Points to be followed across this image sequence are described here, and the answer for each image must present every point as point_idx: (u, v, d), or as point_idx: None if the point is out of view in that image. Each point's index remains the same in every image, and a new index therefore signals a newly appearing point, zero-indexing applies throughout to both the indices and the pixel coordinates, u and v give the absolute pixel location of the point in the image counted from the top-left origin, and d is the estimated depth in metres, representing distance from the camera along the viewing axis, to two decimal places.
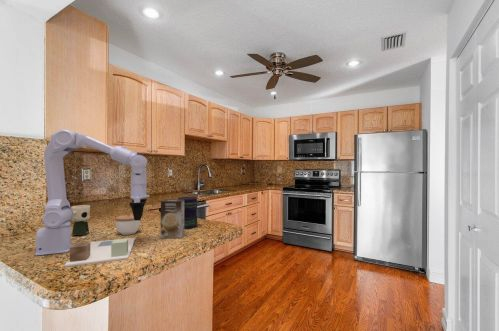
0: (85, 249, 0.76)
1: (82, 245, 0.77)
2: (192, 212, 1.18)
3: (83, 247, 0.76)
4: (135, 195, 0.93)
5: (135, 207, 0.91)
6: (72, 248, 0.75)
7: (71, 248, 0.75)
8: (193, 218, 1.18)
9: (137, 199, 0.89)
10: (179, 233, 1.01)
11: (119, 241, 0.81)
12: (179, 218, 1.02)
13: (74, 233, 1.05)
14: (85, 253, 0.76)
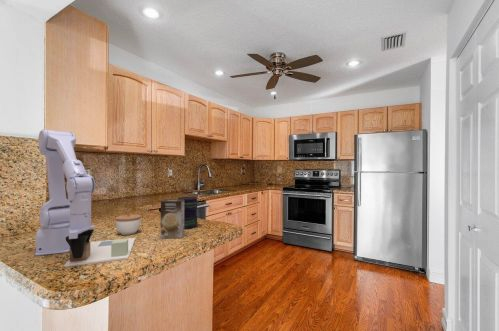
0: (85, 249, 0.76)
1: None
2: (192, 213, 1.18)
3: None
4: (74, 228, 0.75)
5: (74, 242, 0.74)
6: None
7: None
8: (193, 218, 1.18)
9: (73, 234, 0.71)
10: (179, 233, 1.01)
11: (119, 241, 0.81)
12: (179, 218, 1.02)
13: None
14: (85, 253, 0.76)
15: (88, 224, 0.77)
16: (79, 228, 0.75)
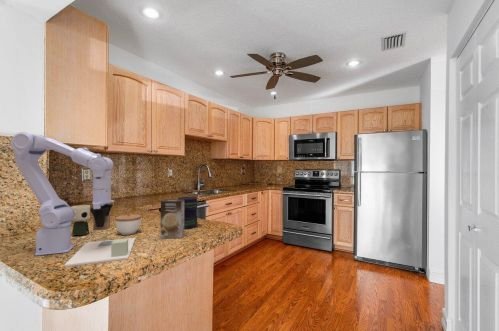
0: (106, 220, 0.87)
1: None
2: (192, 212, 1.18)
3: (105, 218, 0.87)
4: (97, 200, 0.86)
5: (97, 213, 0.86)
6: None
7: None
8: (193, 218, 1.18)
9: (97, 205, 0.82)
10: (179, 233, 1.01)
11: (119, 241, 0.81)
12: (179, 218, 1.02)
13: (74, 233, 1.05)
14: (106, 223, 0.87)
15: (108, 198, 0.88)
16: (101, 201, 0.86)
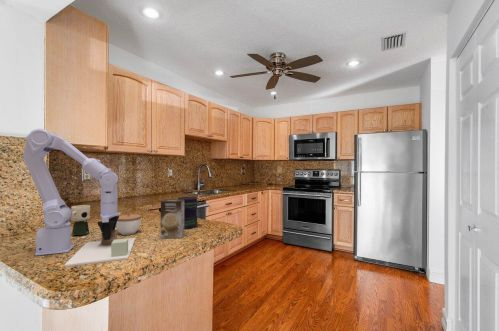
0: (114, 235, 0.92)
1: None
2: (192, 212, 1.18)
3: (112, 233, 0.92)
4: (105, 214, 0.91)
5: (104, 226, 0.89)
6: None
7: None
8: (193, 218, 1.18)
9: (105, 218, 0.87)
10: (179, 233, 1.01)
11: (119, 241, 0.81)
12: (179, 218, 1.02)
13: (74, 233, 1.05)
14: (114, 238, 0.92)
15: (115, 211, 0.93)
16: (109, 214, 0.91)
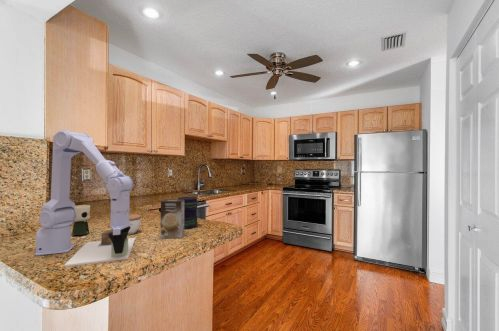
0: None
1: None
2: (192, 212, 1.18)
3: None
4: (115, 224, 0.79)
5: (116, 238, 0.78)
6: (103, 234, 0.91)
7: (102, 234, 0.91)
8: (193, 218, 1.18)
9: (117, 230, 0.75)
10: (179, 233, 1.01)
11: None
12: (179, 218, 1.02)
13: (74, 233, 1.05)
14: None
15: (127, 221, 0.81)
16: (120, 225, 0.79)
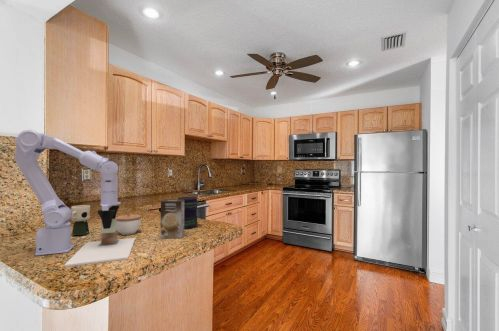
0: (114, 235, 0.92)
1: None
2: (192, 212, 1.18)
3: (112, 233, 0.92)
4: (105, 202, 0.91)
5: (104, 215, 0.89)
6: (103, 234, 0.91)
7: (102, 234, 0.91)
8: (193, 218, 1.18)
9: (105, 206, 0.87)
10: (179, 233, 1.01)
11: None
12: (179, 218, 1.02)
13: (74, 233, 1.05)
14: (114, 238, 0.92)
15: (115, 200, 0.93)
16: (109, 203, 0.91)
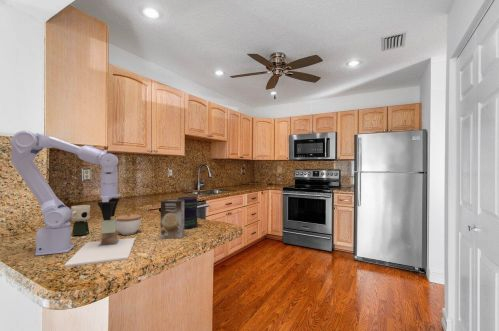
0: (114, 235, 0.92)
1: None
2: (192, 213, 1.18)
3: (112, 233, 0.92)
4: (105, 194, 0.91)
5: (104, 207, 0.89)
6: (103, 234, 0.91)
7: (102, 234, 0.91)
8: (193, 218, 1.18)
9: (105, 198, 0.87)
10: (179, 233, 1.01)
11: (108, 220, 0.93)
12: (179, 218, 1.02)
13: (74, 233, 1.05)
14: (114, 238, 0.92)
15: (115, 192, 0.93)
16: (109, 195, 0.91)
